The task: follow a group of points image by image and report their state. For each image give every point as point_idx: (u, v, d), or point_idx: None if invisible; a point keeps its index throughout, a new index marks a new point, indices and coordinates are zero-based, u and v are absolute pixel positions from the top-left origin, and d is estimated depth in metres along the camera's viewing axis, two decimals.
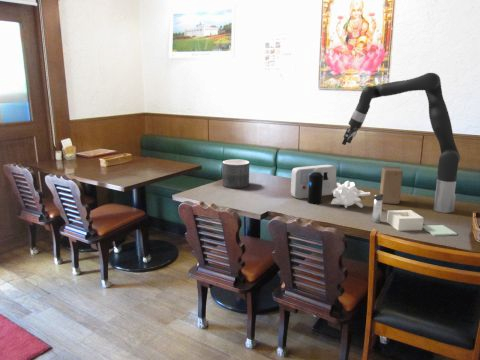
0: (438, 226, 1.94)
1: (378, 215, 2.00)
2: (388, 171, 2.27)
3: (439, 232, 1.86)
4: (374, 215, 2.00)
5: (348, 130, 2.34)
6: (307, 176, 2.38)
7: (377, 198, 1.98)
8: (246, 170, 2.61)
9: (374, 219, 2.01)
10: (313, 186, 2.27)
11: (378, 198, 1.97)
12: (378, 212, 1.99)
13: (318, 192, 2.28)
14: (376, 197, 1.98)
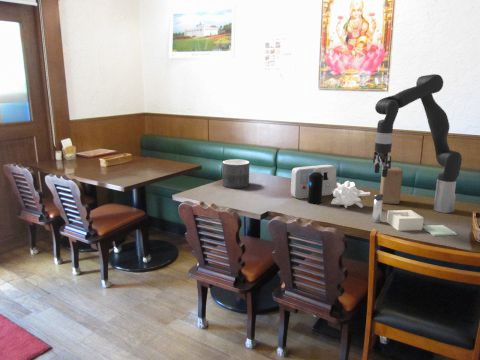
0: (438, 226, 1.94)
1: (378, 215, 2.00)
2: (388, 171, 2.27)
3: (439, 232, 1.86)
4: (374, 215, 2.00)
5: (388, 158, 1.88)
6: (307, 176, 2.38)
7: (377, 198, 1.98)
8: (246, 170, 2.61)
9: (374, 219, 2.01)
10: (313, 186, 2.27)
11: (378, 198, 1.97)
12: (378, 212, 1.99)
13: (318, 192, 2.28)
14: (376, 197, 1.98)
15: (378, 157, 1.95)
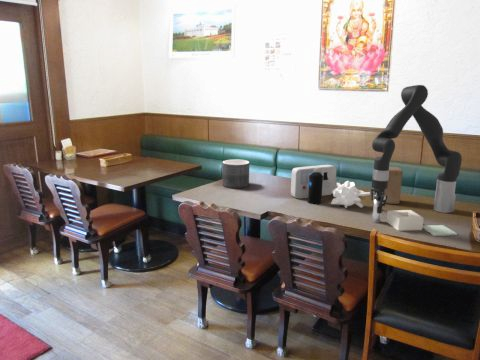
0: (438, 226, 1.94)
1: (378, 215, 2.00)
2: None
3: (439, 232, 1.86)
4: (374, 215, 2.00)
5: (384, 198, 1.93)
6: (307, 176, 2.38)
7: None
8: (246, 170, 2.61)
9: (374, 219, 2.01)
10: (313, 186, 2.27)
11: None
12: None
13: (318, 192, 2.28)
14: (376, 197, 1.98)
15: (375, 192, 1.99)
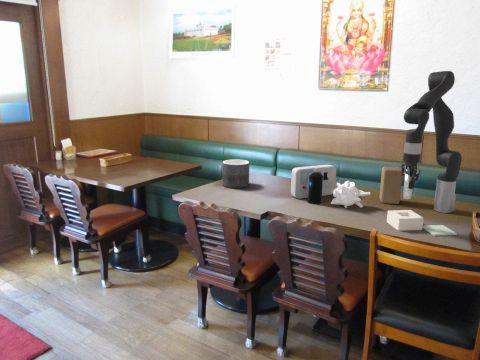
0: (438, 226, 1.94)
1: (409, 191, 1.90)
2: (388, 171, 2.27)
3: (439, 232, 1.86)
4: (405, 191, 1.91)
5: (417, 172, 1.84)
6: (307, 176, 2.38)
7: None
8: (246, 170, 2.61)
9: (405, 195, 1.92)
10: (313, 186, 2.27)
11: (410, 173, 1.88)
12: None
13: (318, 192, 2.28)
14: None
15: (406, 167, 1.90)
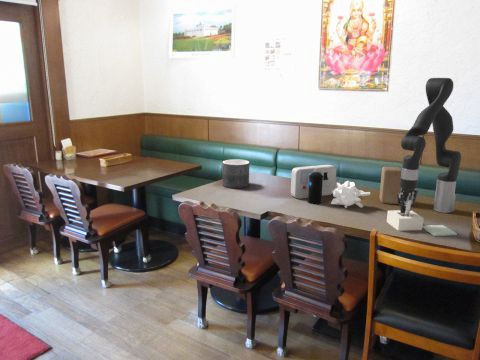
0: (438, 226, 1.94)
1: (402, 215, 1.94)
2: (388, 171, 2.27)
3: (439, 232, 1.86)
4: None
5: (399, 196, 1.89)
6: (307, 176, 2.38)
7: None
8: (246, 170, 2.61)
9: None
10: (313, 186, 2.27)
11: None
12: None
13: (318, 192, 2.28)
14: None
15: None
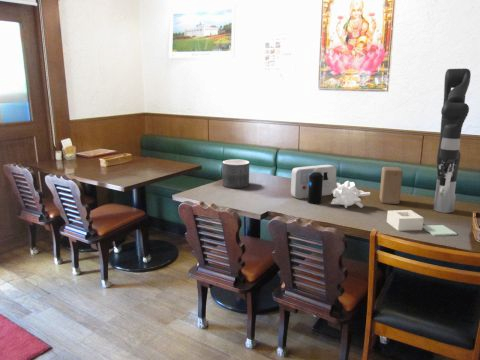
0: (438, 226, 1.94)
1: (442, 188, 1.84)
2: (388, 171, 2.27)
3: (439, 232, 1.86)
4: None
5: (439, 167, 1.79)
6: (307, 176, 2.38)
7: None
8: (246, 170, 2.61)
9: (439, 192, 1.86)
10: (313, 186, 2.27)
11: None
12: None
13: (318, 192, 2.28)
14: None
15: None
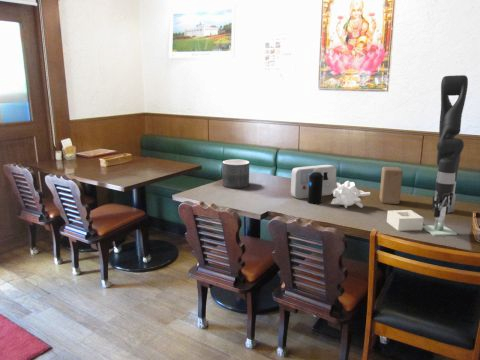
0: None
1: (437, 222, 1.88)
2: (388, 171, 2.27)
3: (439, 232, 1.86)
4: None
5: (435, 198, 1.82)
6: (307, 176, 2.38)
7: None
8: (246, 170, 2.61)
9: (434, 225, 1.90)
10: (313, 186, 2.27)
11: None
12: (436, 218, 1.88)
13: (318, 192, 2.28)
14: None
15: None
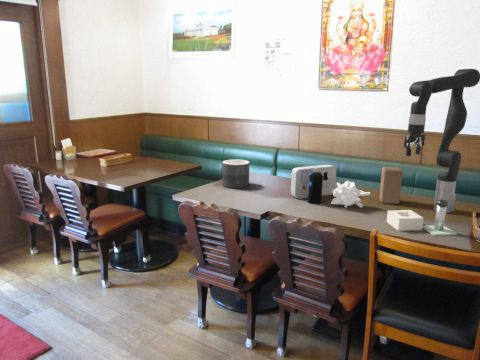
0: None
1: (437, 222, 1.88)
2: (388, 171, 2.27)
3: (439, 232, 1.86)
4: (435, 221, 1.90)
5: (407, 137, 1.98)
6: (307, 176, 2.38)
7: (437, 203, 1.87)
8: (246, 170, 2.61)
9: (434, 225, 1.90)
10: (313, 186, 2.27)
11: (438, 204, 1.87)
12: (437, 218, 1.88)
13: (318, 192, 2.28)
14: (437, 202, 1.87)
15: None
